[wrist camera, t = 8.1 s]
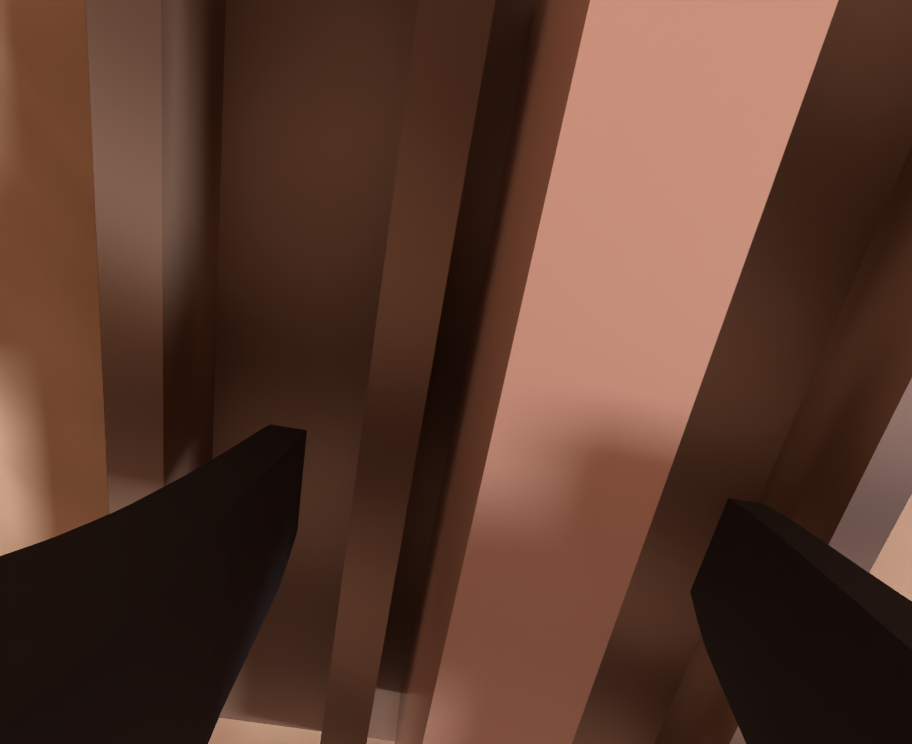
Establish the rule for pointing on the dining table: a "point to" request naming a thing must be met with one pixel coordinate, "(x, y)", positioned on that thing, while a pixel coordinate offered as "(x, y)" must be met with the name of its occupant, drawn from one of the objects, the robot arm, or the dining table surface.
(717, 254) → the clay strip
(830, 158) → the slatted brown panel
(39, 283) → the dining table surface
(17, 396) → the dining table surface
